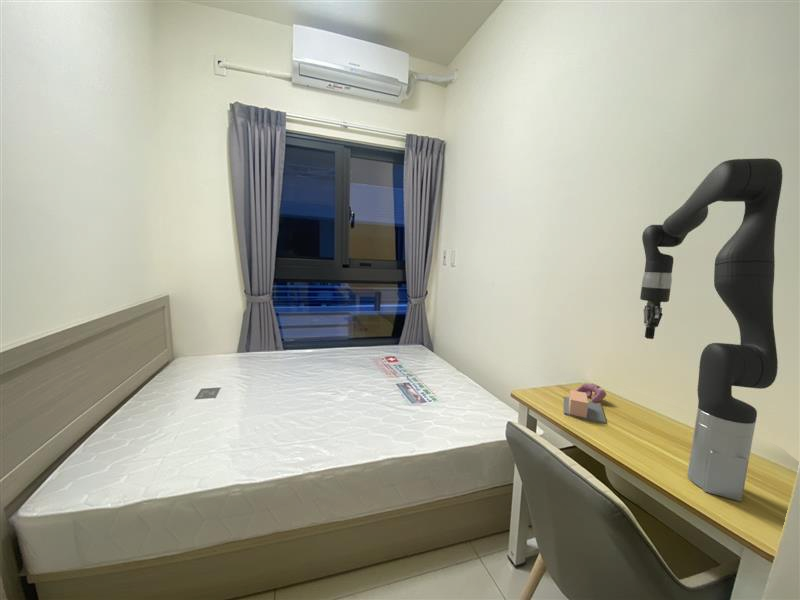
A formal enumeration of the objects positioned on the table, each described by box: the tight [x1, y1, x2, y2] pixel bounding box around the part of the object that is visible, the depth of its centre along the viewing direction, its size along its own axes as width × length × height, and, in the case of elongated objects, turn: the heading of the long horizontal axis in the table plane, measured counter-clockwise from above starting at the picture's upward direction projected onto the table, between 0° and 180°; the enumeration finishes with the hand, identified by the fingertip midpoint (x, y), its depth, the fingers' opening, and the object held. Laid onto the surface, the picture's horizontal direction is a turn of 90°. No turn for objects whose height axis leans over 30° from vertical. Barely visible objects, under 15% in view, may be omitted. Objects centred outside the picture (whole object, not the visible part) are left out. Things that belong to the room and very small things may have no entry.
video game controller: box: [575, 382, 607, 404], centre depth 122 cm, size 10×5×7 cm, turn 11°
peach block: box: [569, 389, 589, 418], centre depth 110 cm, size 5×5×10 cm
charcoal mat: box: [563, 396, 607, 424], centre depth 112 cm, size 16×12×1 cm
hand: (649, 338), depth 107 cm, fingers closed
